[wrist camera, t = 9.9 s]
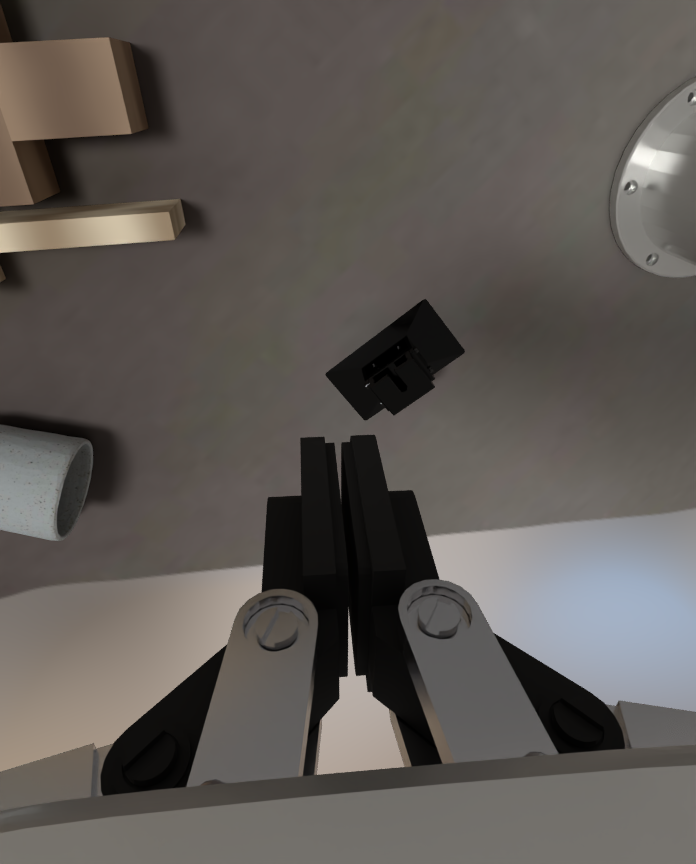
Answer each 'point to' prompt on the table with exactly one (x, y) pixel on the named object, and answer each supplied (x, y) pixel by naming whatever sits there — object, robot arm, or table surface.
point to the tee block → (59, 105)
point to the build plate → (396, 363)
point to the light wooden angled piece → (90, 225)
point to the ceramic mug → (42, 481)
